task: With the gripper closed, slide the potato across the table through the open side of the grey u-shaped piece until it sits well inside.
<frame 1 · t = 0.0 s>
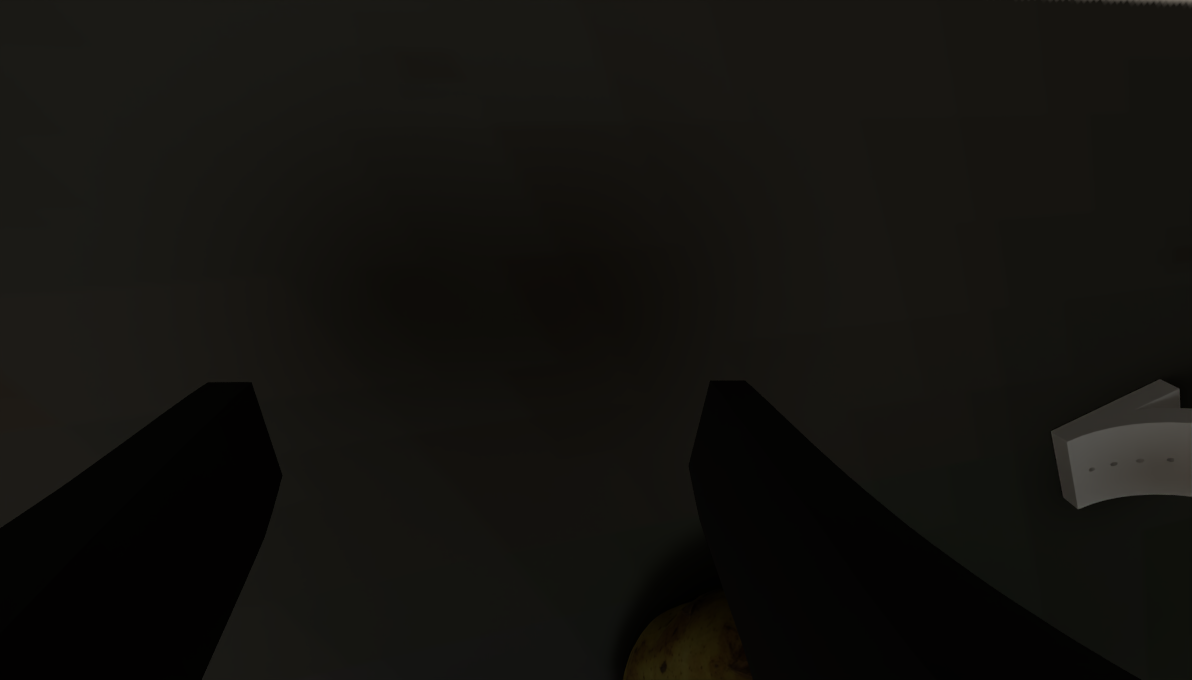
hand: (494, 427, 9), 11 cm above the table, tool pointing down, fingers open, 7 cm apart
potato: (694, 615, 28), on the table
headphone stand: (1115, 433, 26), on the table
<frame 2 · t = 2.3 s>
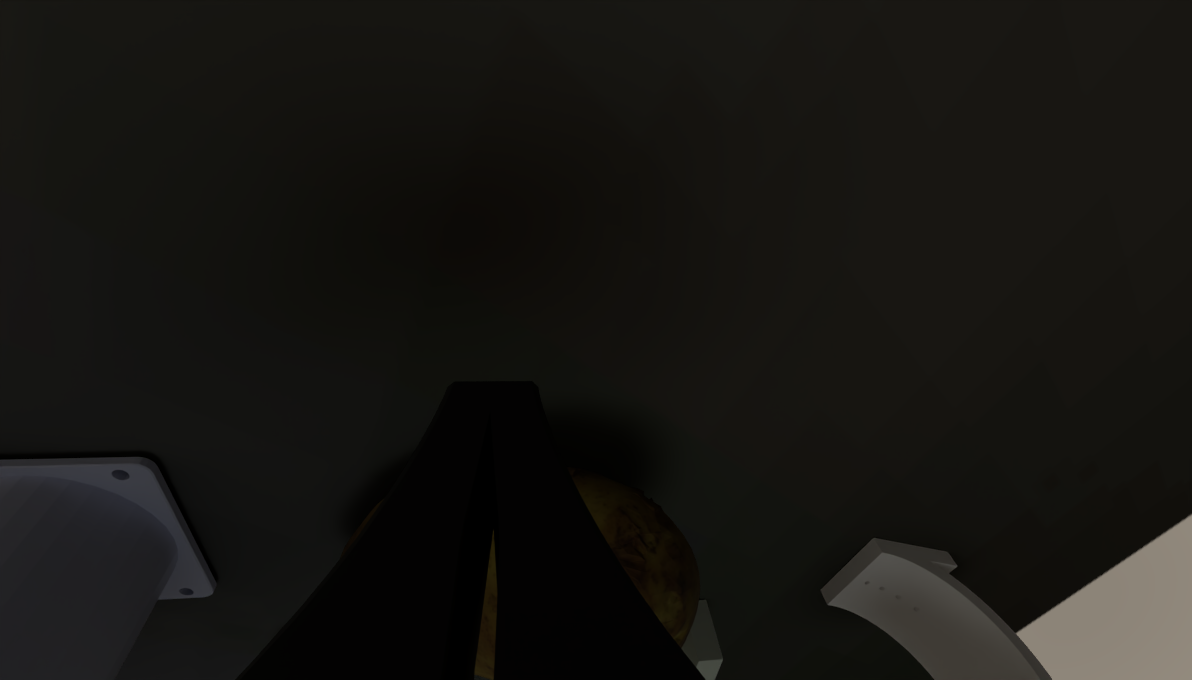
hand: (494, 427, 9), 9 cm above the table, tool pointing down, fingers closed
potato: (505, 483, 23), on the table
grey u-shaped piece: (507, 676, 32), on the table
headphone stand: (888, 568, 30), on the table
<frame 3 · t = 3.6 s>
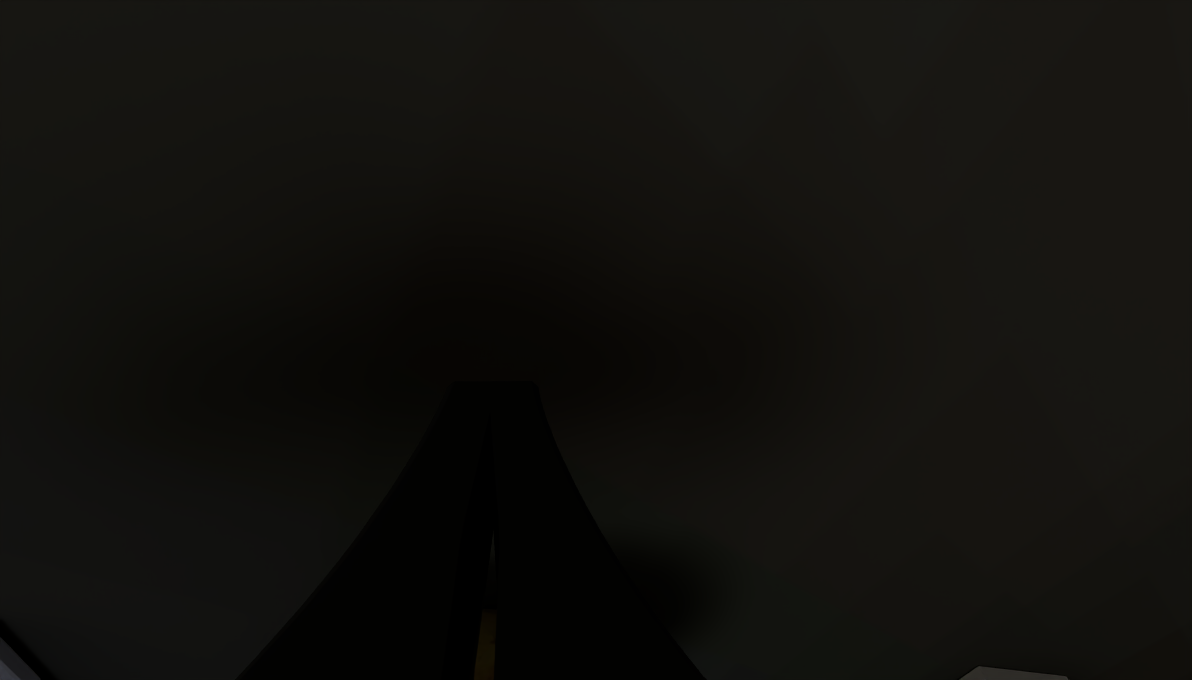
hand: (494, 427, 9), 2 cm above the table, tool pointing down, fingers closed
potato: (502, 626, 17), on the table
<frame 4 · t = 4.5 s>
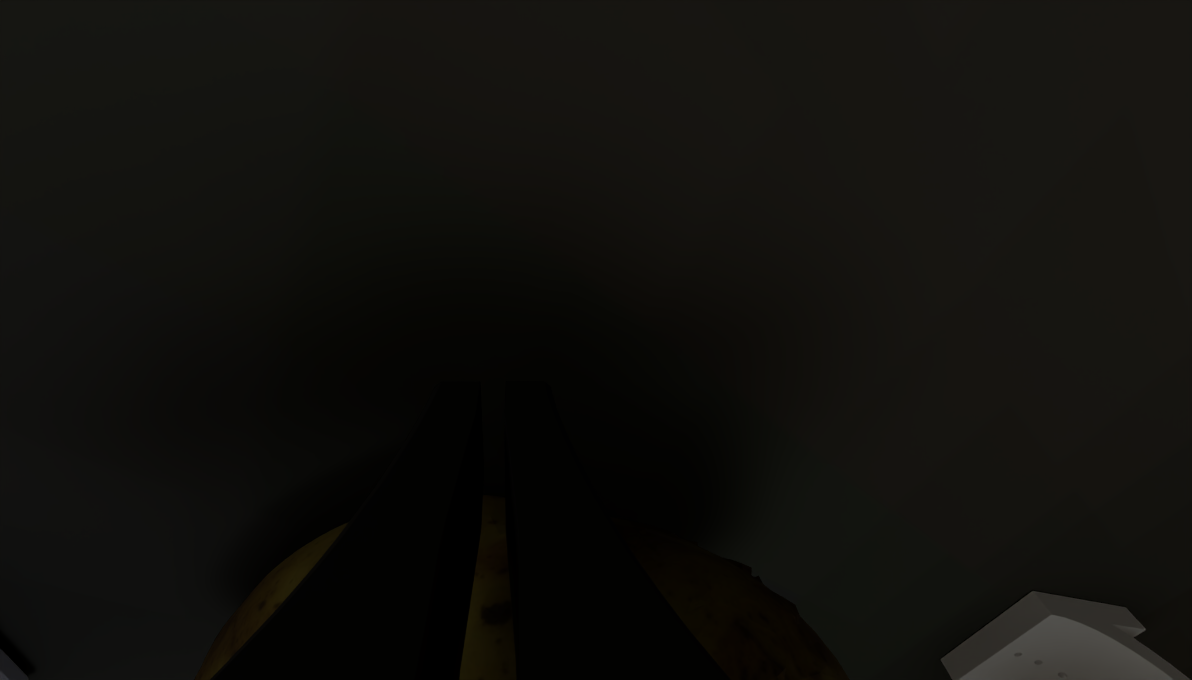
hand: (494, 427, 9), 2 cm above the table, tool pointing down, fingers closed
potato: (494, 529, 14), on the table, touching gripper
headphone stand: (1036, 629, 21), on the table
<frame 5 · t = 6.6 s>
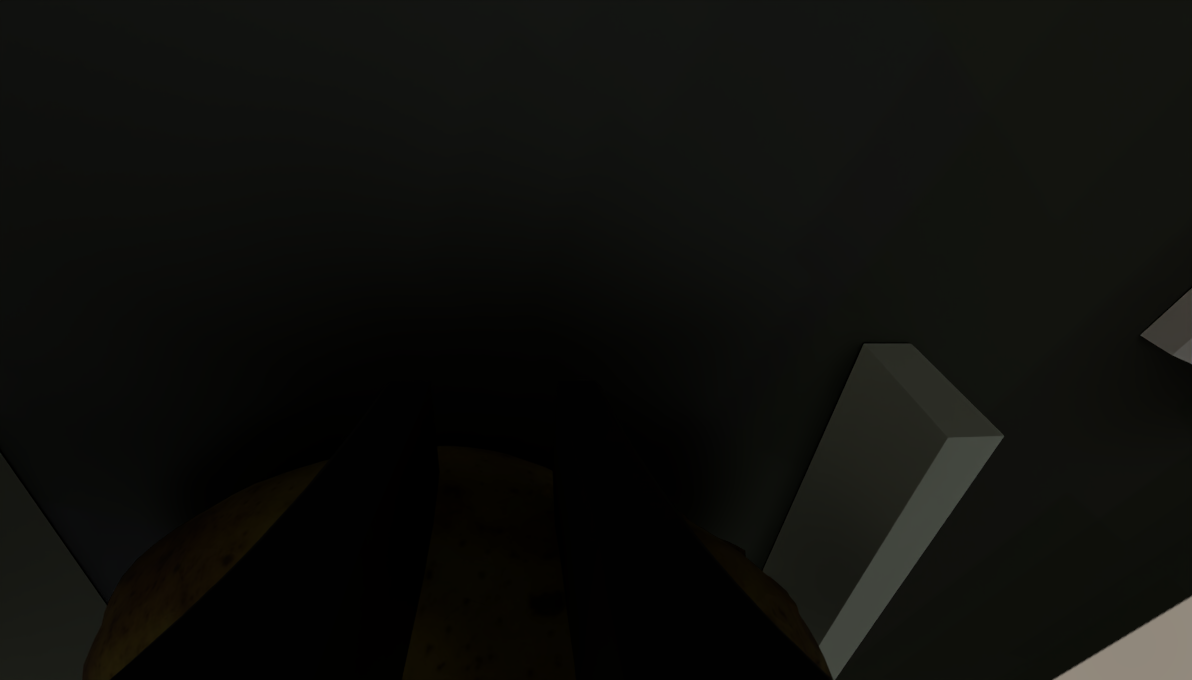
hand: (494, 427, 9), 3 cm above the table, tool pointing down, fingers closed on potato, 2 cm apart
potato: (464, 471, 13), on the table, touching gripper
grey u-shaped piece: (466, 543, 15), on the table
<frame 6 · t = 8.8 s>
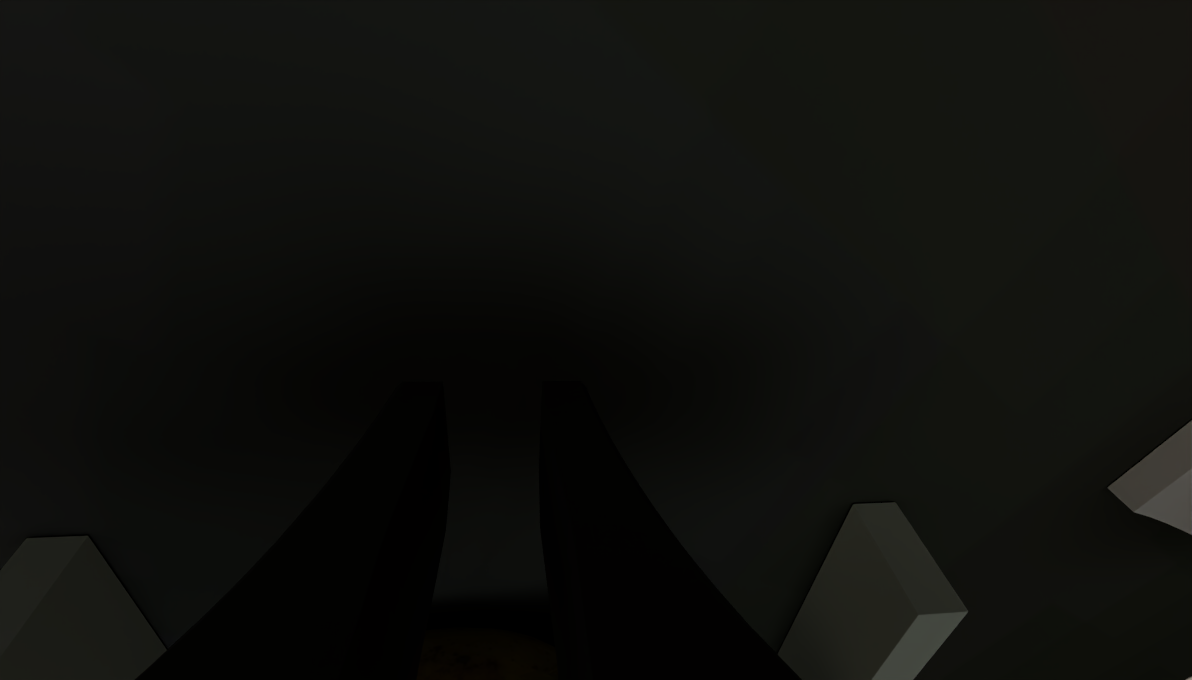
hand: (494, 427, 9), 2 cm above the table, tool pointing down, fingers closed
potato: (500, 648, 18), on the table
grey u-shaped piece: (507, 655, 17), on the table
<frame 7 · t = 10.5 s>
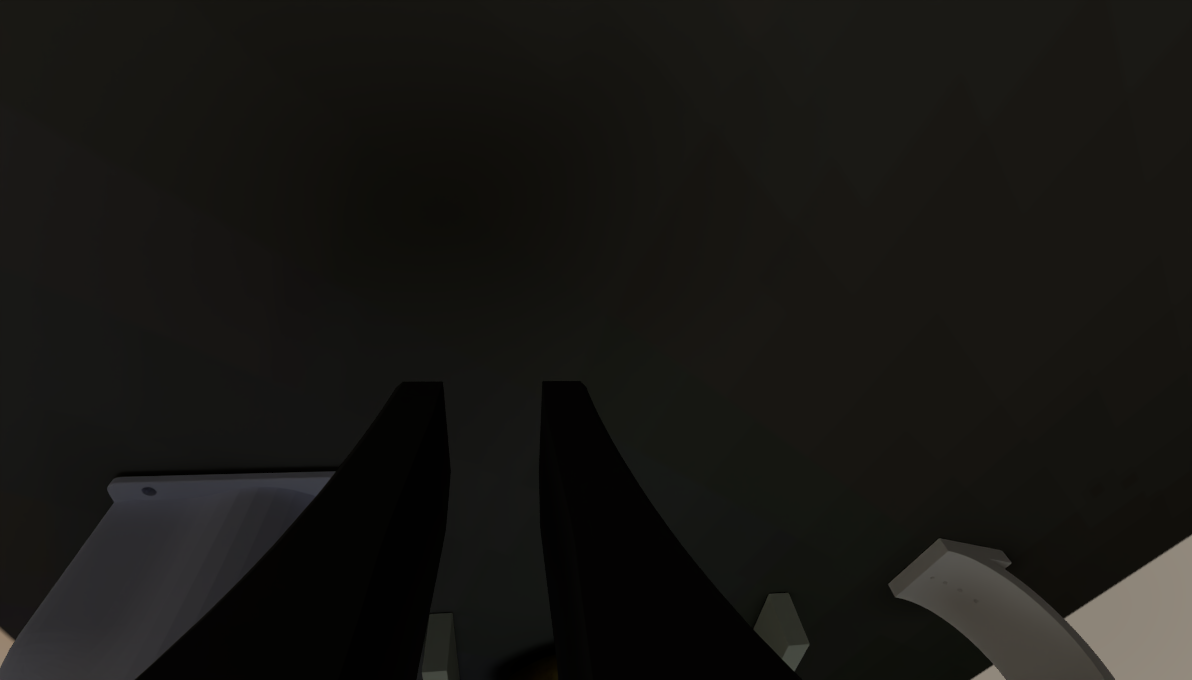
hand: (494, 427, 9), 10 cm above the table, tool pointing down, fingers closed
potato: (602, 657, 36), on the table
grey u-shaped piece: (606, 661, 36), on the table
headphone stand: (948, 565, 34), on the table
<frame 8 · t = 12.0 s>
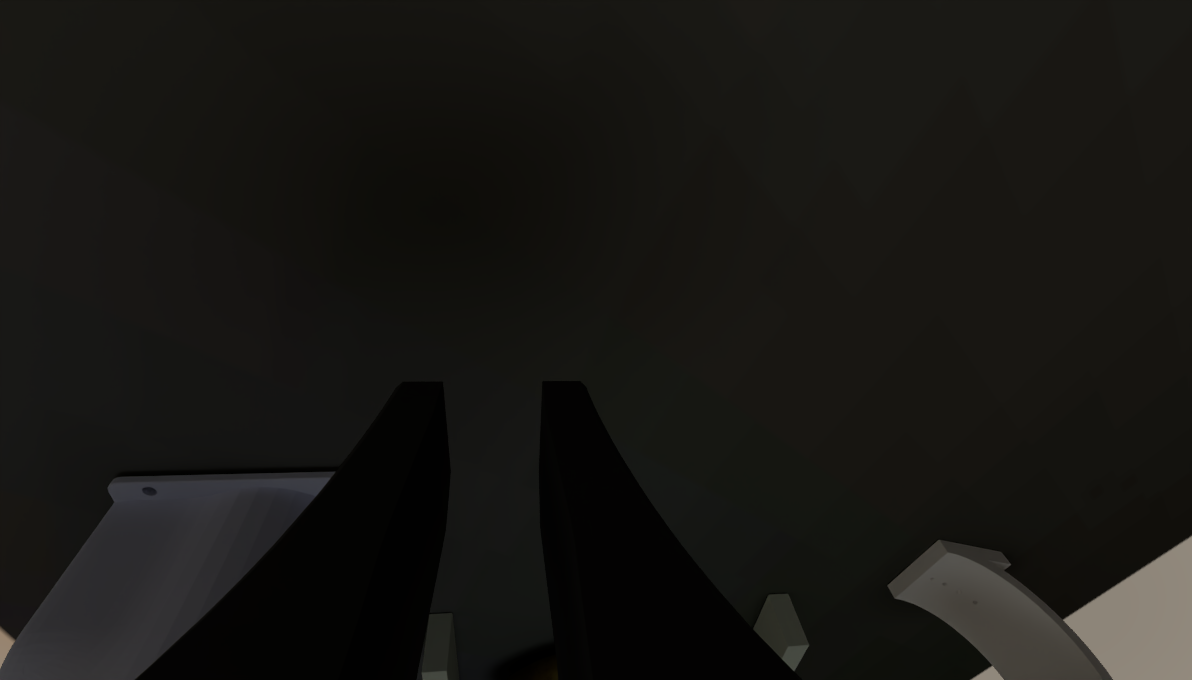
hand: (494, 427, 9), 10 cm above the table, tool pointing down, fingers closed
potato: (601, 657, 36), on the table
grey u-shaped piece: (605, 661, 36), on the table
headphone stand: (947, 566, 34), on the table
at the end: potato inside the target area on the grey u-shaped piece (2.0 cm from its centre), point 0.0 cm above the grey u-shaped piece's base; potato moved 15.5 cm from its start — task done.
